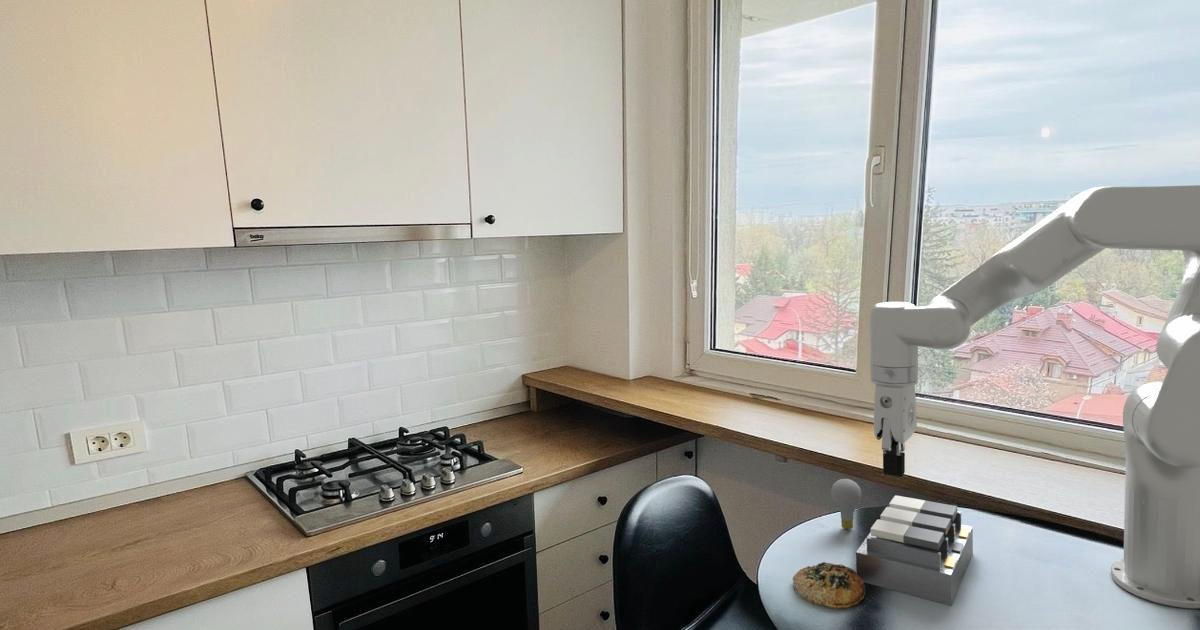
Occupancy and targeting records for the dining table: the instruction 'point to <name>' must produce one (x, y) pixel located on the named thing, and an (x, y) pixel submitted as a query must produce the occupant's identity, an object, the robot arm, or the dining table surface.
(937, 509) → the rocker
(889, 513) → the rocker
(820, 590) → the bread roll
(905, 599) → the dining table surface
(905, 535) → the rocker
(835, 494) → the light bulb
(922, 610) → the dining table surface
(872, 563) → the switch box
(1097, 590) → the dining table surface
